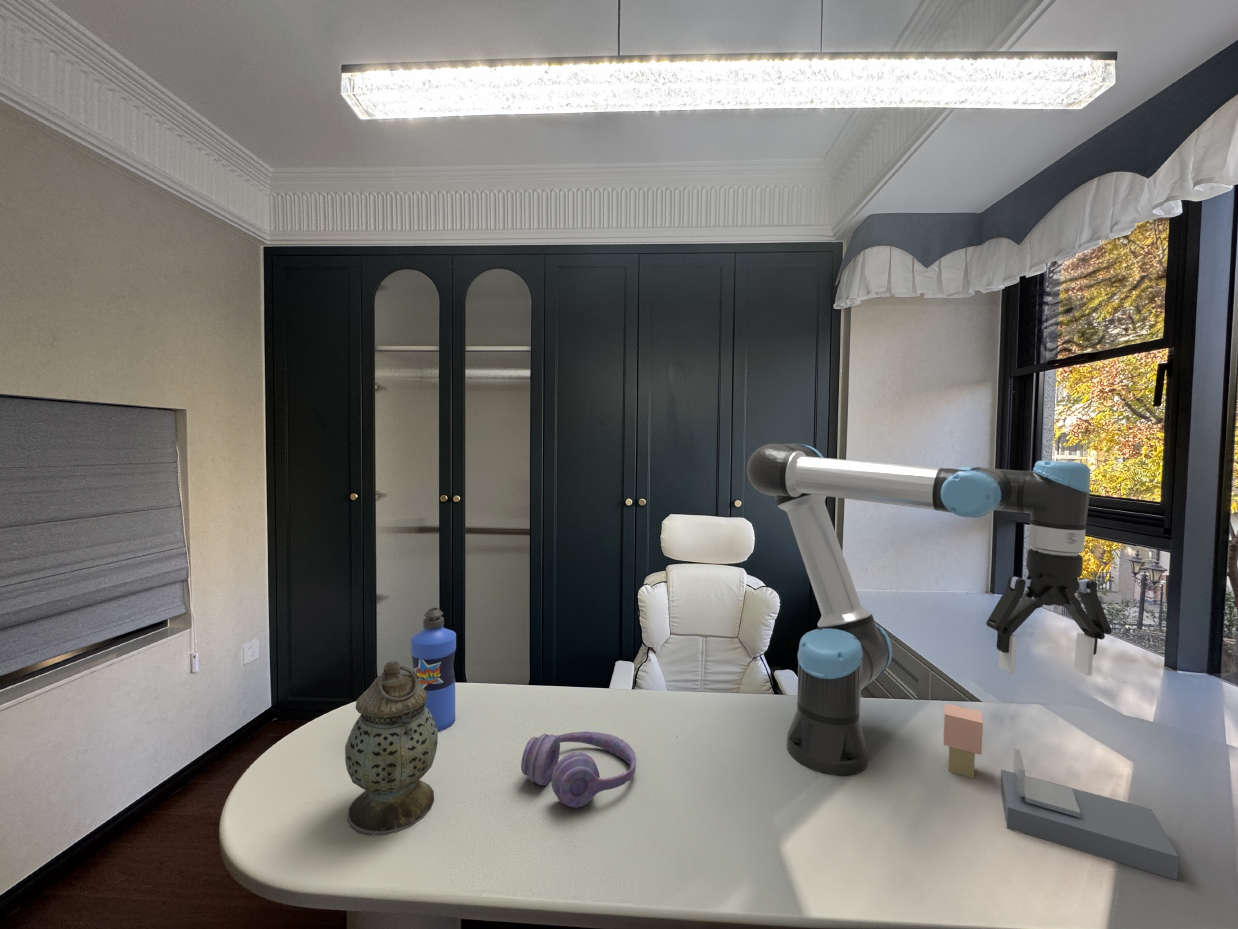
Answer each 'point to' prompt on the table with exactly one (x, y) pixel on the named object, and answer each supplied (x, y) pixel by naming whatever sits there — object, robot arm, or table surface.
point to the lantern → (391, 754)
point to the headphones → (574, 765)
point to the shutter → (1043, 791)
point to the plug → (962, 738)
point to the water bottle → (436, 667)
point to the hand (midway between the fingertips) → (1044, 671)
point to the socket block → (1095, 828)
